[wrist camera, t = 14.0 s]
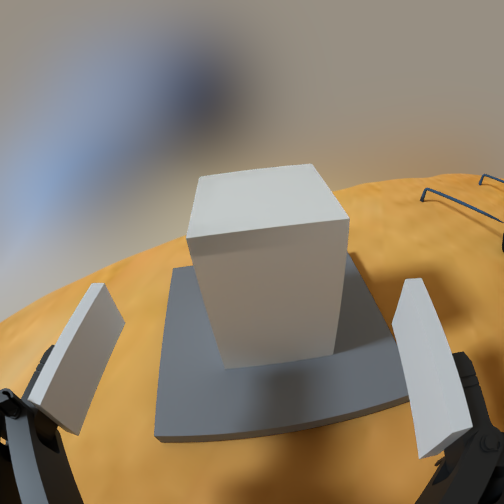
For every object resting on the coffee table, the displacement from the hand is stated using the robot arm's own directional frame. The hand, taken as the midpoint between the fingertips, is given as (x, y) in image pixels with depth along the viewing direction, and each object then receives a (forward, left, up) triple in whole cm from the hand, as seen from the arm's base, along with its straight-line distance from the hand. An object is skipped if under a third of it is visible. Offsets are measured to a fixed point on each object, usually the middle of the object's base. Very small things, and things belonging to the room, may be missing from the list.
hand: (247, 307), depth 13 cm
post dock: (-1, -5, -9) cm, 10 cm away
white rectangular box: (-1, -5, -7) cm, 9 cm away
